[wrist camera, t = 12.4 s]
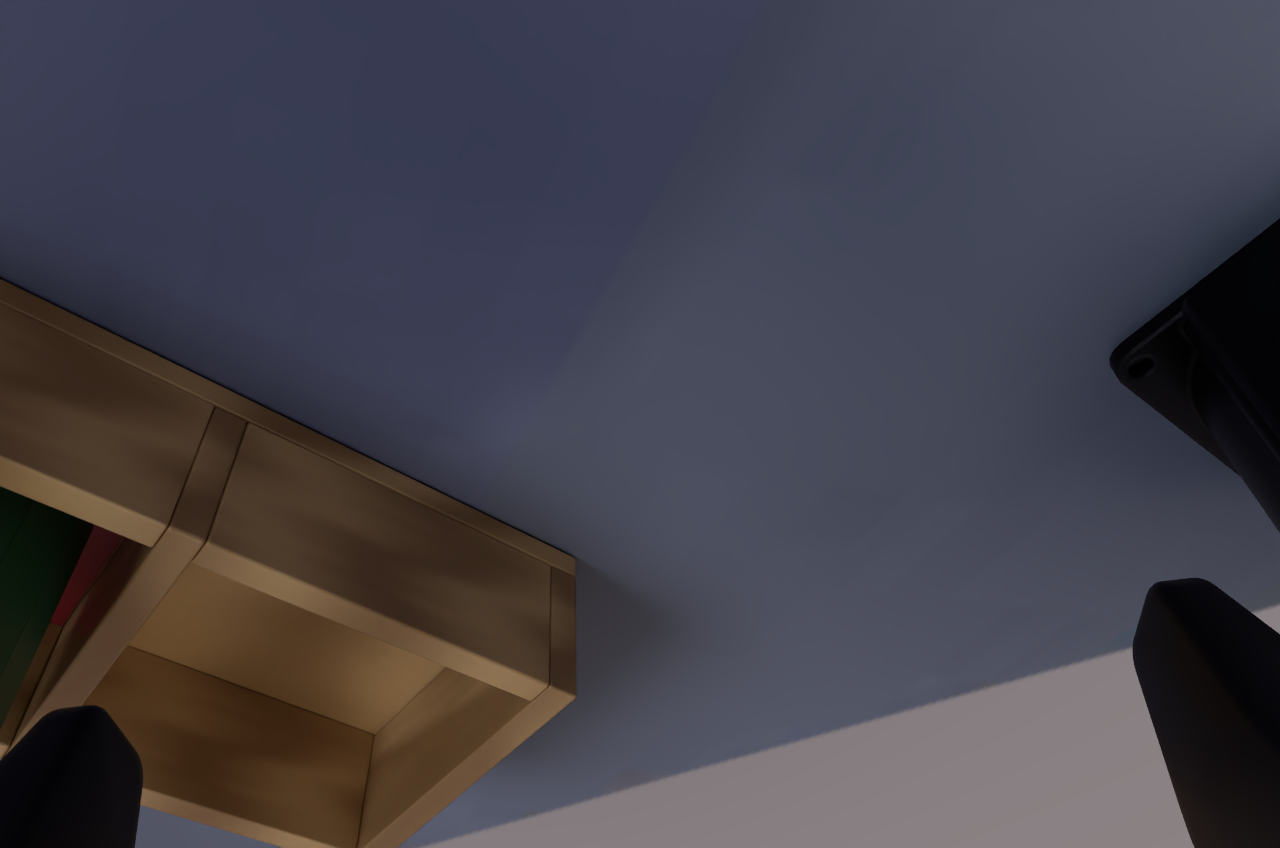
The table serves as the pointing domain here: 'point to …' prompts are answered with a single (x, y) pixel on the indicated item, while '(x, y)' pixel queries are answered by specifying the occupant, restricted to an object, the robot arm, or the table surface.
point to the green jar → (31, 580)
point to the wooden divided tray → (269, 599)
